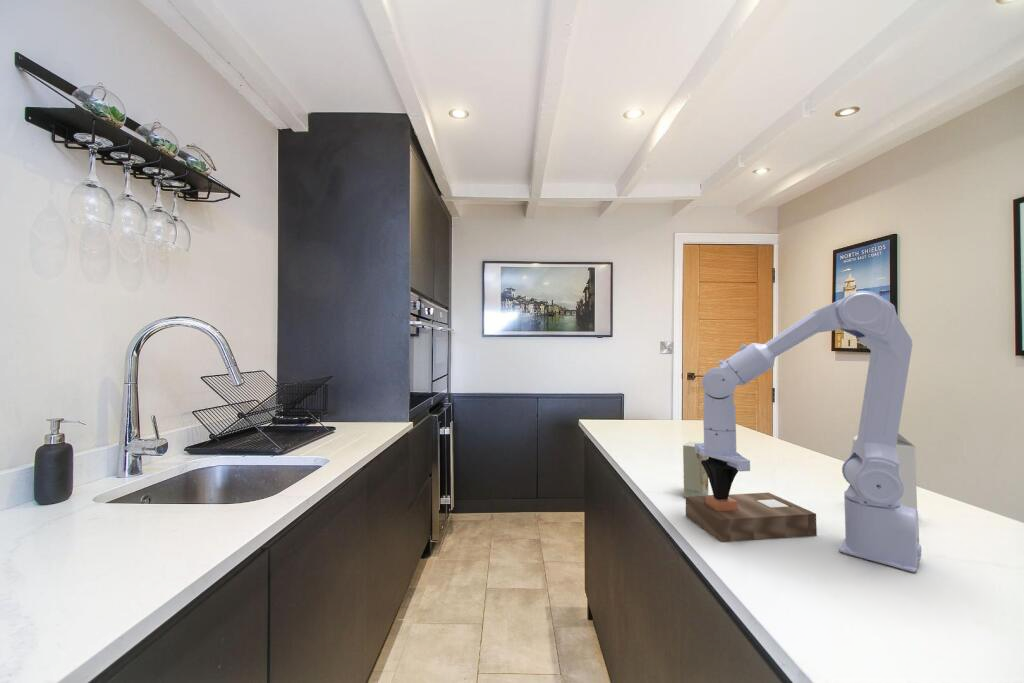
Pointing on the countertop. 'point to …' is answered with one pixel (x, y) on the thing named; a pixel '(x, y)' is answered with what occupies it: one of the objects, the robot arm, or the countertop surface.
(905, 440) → the milk carton
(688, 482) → the skincare box
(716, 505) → the terracotta button
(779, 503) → the grey button
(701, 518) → the button block
